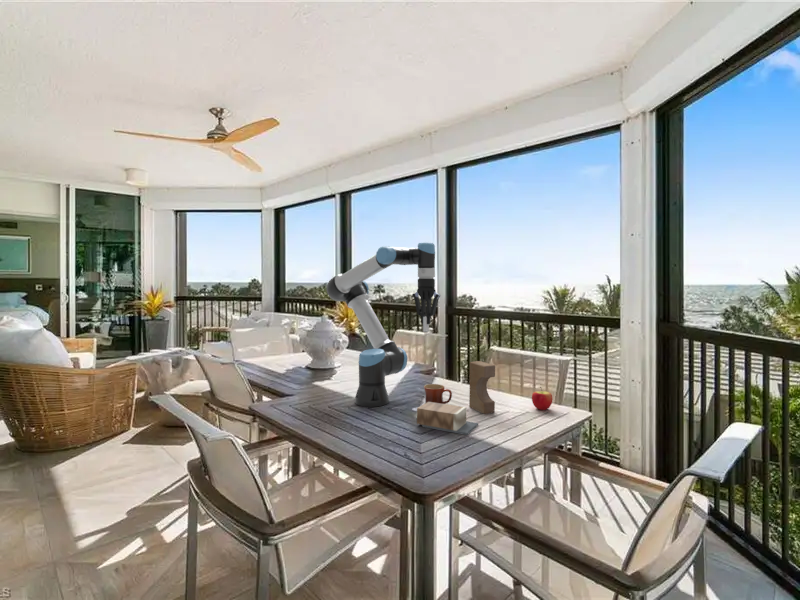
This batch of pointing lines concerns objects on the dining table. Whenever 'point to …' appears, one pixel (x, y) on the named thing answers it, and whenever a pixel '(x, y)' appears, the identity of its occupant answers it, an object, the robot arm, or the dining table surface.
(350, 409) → the dining table surface
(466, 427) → the mat
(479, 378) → the decorative block
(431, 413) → the brown and cream block
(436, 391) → the mug
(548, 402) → the apple
